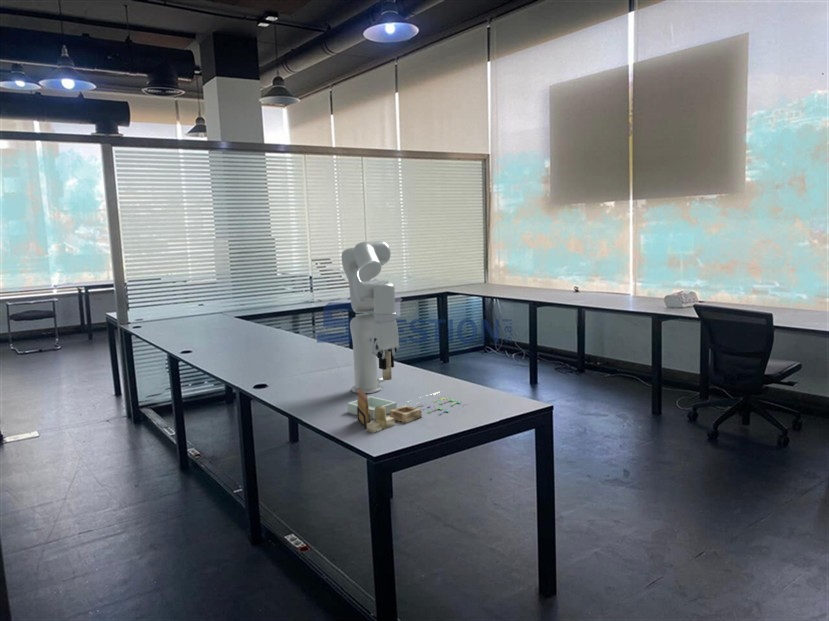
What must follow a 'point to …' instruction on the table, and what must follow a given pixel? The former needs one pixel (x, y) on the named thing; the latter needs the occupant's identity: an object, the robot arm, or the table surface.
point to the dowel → (387, 366)
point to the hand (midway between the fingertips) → (386, 367)
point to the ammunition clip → (363, 409)
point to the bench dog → (380, 420)
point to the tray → (372, 406)
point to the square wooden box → (405, 413)
